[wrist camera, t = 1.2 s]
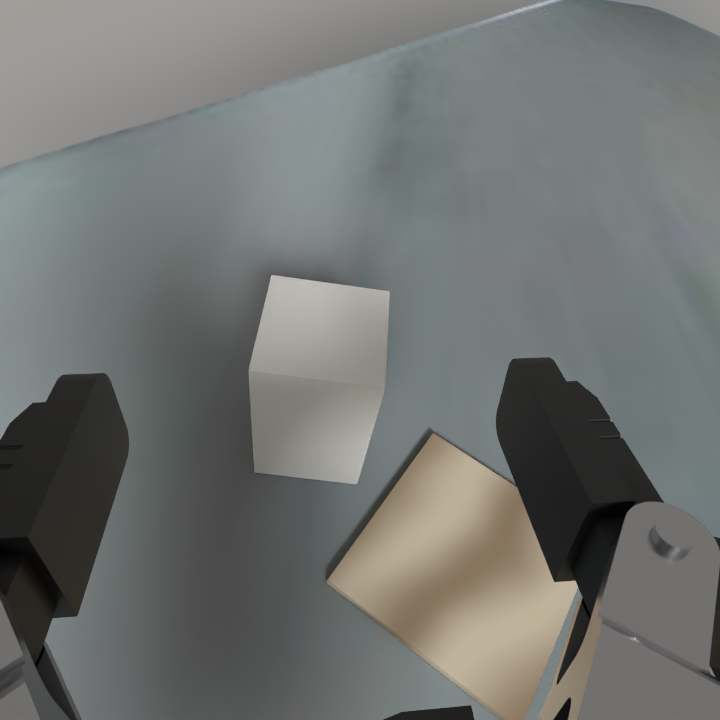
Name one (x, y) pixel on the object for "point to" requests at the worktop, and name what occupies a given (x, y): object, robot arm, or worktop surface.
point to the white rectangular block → (317, 378)
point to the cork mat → (460, 578)
